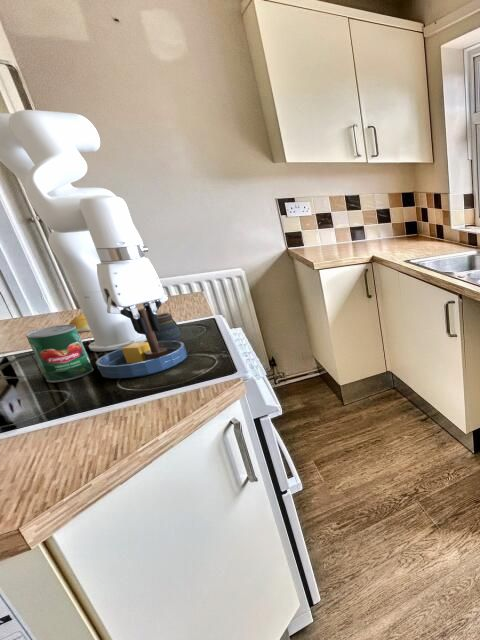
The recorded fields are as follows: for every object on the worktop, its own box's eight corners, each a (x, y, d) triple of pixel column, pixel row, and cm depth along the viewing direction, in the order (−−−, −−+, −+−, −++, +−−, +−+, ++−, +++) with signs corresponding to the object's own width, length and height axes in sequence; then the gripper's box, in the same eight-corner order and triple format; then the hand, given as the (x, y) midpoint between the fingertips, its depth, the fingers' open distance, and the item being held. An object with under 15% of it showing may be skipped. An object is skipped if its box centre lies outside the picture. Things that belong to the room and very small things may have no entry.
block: (127, 363, 102) (121, 348, 100) (140, 357, 105) (135, 342, 104) (143, 363, 102) (137, 347, 100) (156, 356, 105) (151, 341, 104)
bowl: (85, 375, 97) (79, 361, 96) (161, 350, 111) (156, 337, 110) (129, 385, 92) (124, 370, 91) (203, 357, 106) (199, 344, 105)
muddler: (142, 358, 102) (124, 311, 98) (161, 352, 106) (145, 306, 101) (153, 360, 100) (136, 312, 96) (173, 354, 104) (157, 307, 100)
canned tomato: (64, 383, 93) (43, 337, 89) (36, 381, 95) (14, 335, 91) (102, 368, 101) (84, 325, 97) (76, 367, 102) (57, 324, 98)
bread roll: (74, 334, 126) (69, 321, 124) (69, 328, 131) (64, 316, 129) (110, 326, 132) (106, 314, 130) (104, 321, 137) (100, 310, 135)
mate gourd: (166, 348, 112) (153, 313, 108) (142, 347, 113) (129, 312, 110) (190, 339, 119) (179, 305, 115) (167, 338, 120) (156, 304, 116)
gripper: (149, 248, 102) (173, 320, 109) (66, 260, 89) (99, 341, 95) (169, 249, 100) (192, 323, 106) (87, 261, 86) (120, 345, 93)
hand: (148, 331), depth 101 cm, fingers closed on muddler
